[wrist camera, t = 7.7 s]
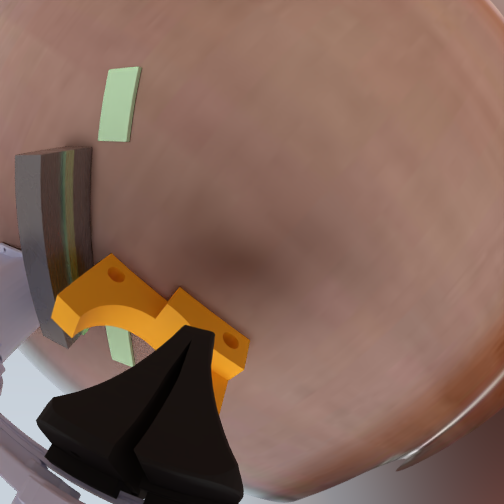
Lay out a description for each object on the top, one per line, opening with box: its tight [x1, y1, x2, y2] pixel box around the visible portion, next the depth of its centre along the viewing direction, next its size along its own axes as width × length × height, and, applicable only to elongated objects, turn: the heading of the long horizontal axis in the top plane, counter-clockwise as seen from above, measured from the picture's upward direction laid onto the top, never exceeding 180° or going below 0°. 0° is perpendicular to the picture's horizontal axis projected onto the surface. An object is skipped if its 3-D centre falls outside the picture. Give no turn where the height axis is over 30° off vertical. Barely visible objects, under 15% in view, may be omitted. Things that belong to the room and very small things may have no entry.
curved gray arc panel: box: [15, 147, 93, 349], centre depth 16 cm, size 3×14×5 cm, turn 170°
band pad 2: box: [105, 325, 135, 367], centre depth 22 cm, size 2×5×1 cm, turn 170°
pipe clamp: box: [51, 253, 250, 414], centre depth 17 cm, size 12×4×6 cm, turn 50°
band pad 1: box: [98, 67, 142, 142], centre depth 14 cm, size 2×5×1 cm, turn 170°
